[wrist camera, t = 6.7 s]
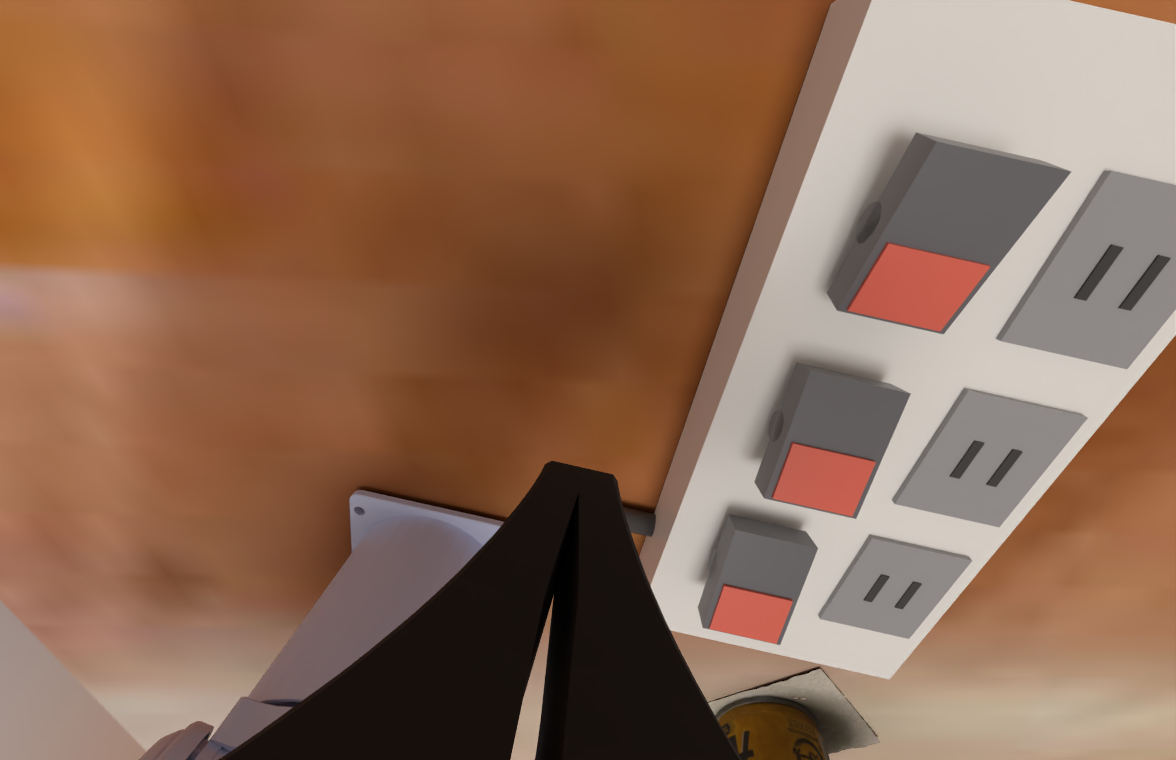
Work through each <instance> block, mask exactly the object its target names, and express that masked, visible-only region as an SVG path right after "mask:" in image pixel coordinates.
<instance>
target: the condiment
mask: <svg viewBox="0 0 1176 760" xmlns="http://www.w3.org/2000/svg"><path fill="white" fill-rule="evenodd" d="M793 697H798V699H793ZM800 698H806V699H807V700H802V699H800ZM708 704H709V706H710V708H711V709H712V711H713V713H714V715H715V716H716V718H717V720H718V722H719V724H720V725H721V727H722V729H723V730H724V732H725V734H726V735H727V737H728V738H729V740H730V742H731V743H732V745H733V746H734V748H735V750H736V751H737V753H738V754H739V756H740V758H741V759H742V760H830V759H829V756H828V754H830V753H836V752H839V751H841V750H845V749H850V748H861V747H866V746H868V745H872V744H876V743H880V741H879V740H878V738H877V737H876V736H875V735H874V734H873V732H872V730H871V729H870V728H869V727H868V725H867V724H866V723H865V721H864V720H863V719H862V718H861V717H860V715H859V714H858V713H857V711H856V710H855V709H854V708H853V707H852V705H851V704H850V703H849V702H848V701H847V699H846V698H845V696H843V695H842V694H841V692H840V691H839V690H838V689H837V688H836V686H835V685H834V684H833V682H832V681H831V680H830V679H829V678H828V677H827V676H826V675H825V673H824V672H823V671H822V670H821V669H818V670H814V671H811V672H810V673H808V674H804V675H800V676H795V677H792V678H790V679H789V680H787V681H781V682H778V683H774V684H771V685H770V686H767V687H761V688H758V689H754V690H748V691H745V692H741V693H737V694H735V695H732V696H729V697H726V698H722V699H720V700H716V701H712V702H709V703H708Z"/></svg>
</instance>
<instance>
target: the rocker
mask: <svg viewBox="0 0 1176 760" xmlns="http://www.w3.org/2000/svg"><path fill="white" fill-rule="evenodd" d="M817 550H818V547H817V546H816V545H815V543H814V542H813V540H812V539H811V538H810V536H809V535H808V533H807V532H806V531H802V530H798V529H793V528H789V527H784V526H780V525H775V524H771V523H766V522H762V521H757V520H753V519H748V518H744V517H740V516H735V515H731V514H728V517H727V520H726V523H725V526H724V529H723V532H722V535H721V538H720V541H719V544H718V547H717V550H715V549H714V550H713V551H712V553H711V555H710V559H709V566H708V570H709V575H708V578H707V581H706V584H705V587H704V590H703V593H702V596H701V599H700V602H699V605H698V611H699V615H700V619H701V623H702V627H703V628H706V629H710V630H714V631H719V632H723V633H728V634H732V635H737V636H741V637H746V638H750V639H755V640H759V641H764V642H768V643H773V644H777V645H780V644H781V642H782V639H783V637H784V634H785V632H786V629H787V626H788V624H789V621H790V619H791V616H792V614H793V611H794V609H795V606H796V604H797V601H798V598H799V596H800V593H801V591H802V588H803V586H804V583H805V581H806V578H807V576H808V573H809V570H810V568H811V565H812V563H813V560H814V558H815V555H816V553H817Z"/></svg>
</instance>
